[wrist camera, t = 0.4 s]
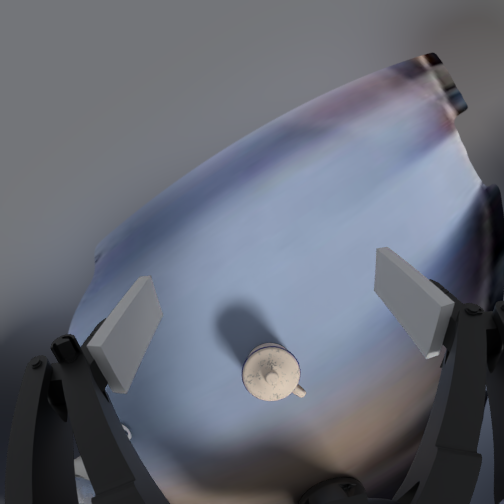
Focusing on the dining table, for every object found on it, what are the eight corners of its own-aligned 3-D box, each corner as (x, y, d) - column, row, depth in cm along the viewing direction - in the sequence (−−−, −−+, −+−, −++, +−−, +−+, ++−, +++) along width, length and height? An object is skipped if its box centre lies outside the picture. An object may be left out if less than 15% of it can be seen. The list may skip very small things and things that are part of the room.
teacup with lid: (234, 368, 47) (227, 382, 36) (265, 331, 49) (267, 335, 37) (284, 404, 45) (291, 427, 34) (315, 369, 47) (330, 382, 35)
